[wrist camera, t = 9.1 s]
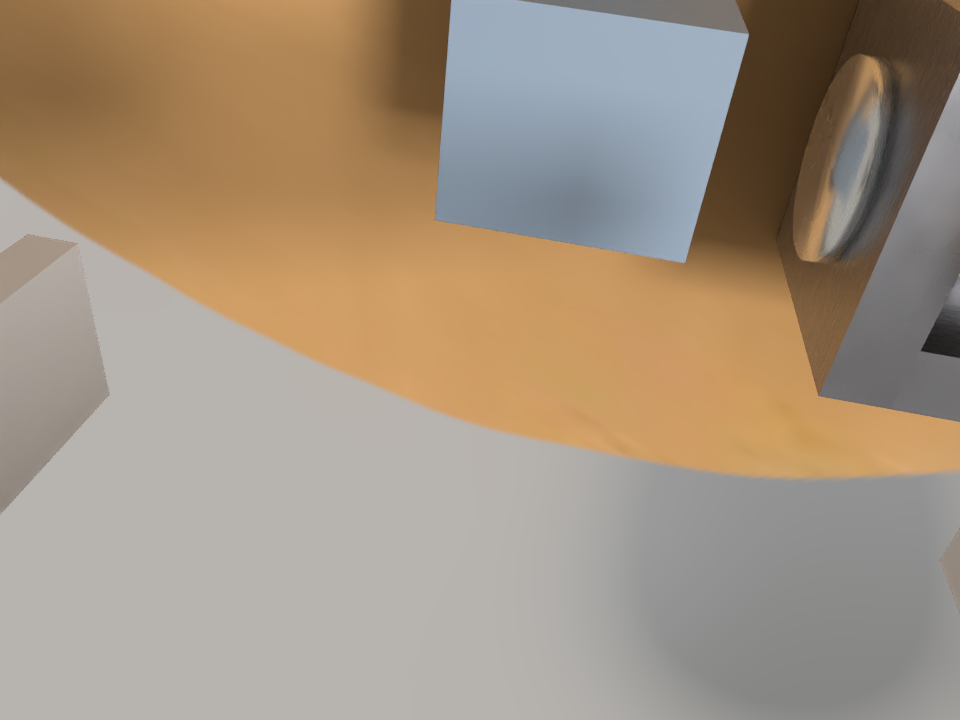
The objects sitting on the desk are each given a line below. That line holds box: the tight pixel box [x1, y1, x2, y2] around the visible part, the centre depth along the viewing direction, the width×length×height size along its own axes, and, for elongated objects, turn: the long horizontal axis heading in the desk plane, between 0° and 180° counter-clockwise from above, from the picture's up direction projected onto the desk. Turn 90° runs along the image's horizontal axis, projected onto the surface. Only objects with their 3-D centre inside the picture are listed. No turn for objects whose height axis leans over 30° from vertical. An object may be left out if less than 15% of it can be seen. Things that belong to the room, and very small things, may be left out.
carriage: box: [435, 0, 749, 263], centre depth 24 cm, size 6×7×8 cm
